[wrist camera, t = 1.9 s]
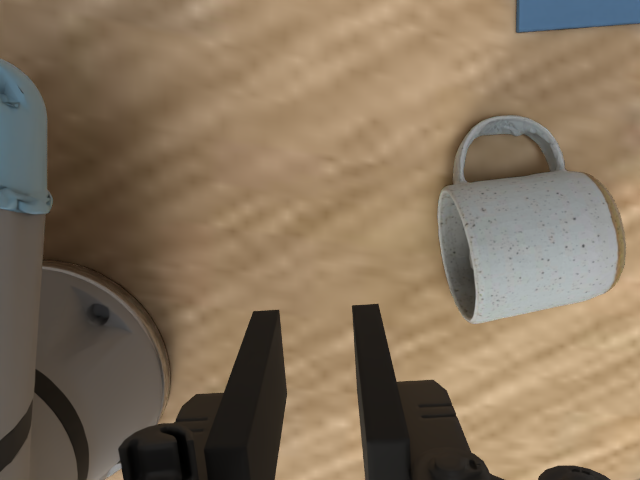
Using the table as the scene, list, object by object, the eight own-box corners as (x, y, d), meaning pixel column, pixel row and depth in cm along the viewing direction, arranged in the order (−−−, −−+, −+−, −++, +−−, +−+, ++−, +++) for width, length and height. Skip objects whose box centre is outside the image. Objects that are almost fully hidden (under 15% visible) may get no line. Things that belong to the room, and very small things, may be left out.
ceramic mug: (576, 273, 35) (644, 319, 27) (446, 297, 35) (477, 347, 28) (560, 102, 32) (629, 100, 25) (421, 130, 33) (448, 136, 25)
